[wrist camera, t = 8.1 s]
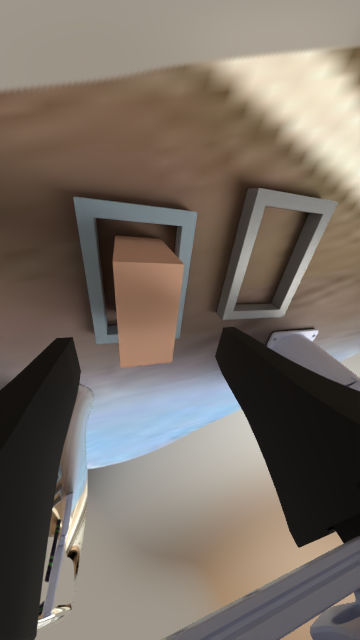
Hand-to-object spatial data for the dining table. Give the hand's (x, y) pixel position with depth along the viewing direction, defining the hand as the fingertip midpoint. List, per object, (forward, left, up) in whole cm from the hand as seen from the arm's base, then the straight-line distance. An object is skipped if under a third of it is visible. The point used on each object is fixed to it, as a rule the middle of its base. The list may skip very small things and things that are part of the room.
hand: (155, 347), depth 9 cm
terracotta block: (0, 0, -9) cm, 9 cm away
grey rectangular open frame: (+2, -12, -9) cm, 16 cm away
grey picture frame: (0, 0, -9) cm, 9 cm away
